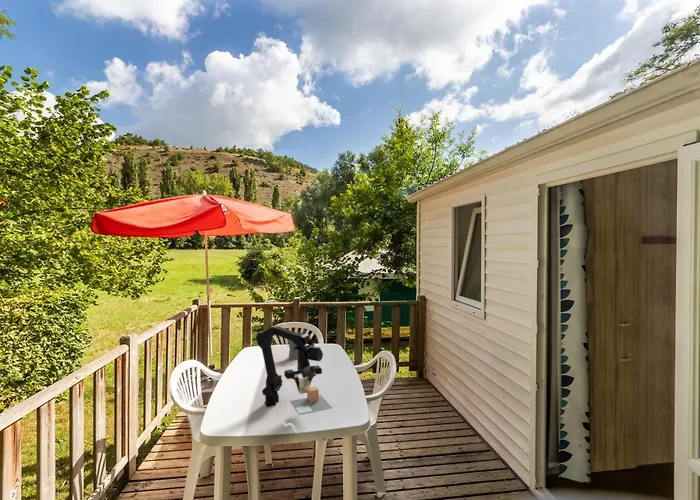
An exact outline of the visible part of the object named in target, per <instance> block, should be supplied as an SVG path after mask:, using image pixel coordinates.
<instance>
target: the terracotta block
mask: <svg viewBox="0 0 700 500" xmlns="http://www.w3.org/2000/svg"><path fill="white" fill-rule="evenodd" d="M319 393H320V391H319V388H318V387H317V386H316V385H314V386H310V392H308V393H306V398H307V399H308V400H309V401H310V402H313V401H318V400H319V395H320V394H319Z"/></svg>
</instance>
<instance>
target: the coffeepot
mask: <svg viewBox="0 0 700 500" xmlns="http://www.w3.org/2000/svg"><path fill="white" fill-rule="evenodd" d="M286 340H287V341H288V347H289V351H288V358H289V359H288V360H290V359H298V351H297V350H294V348H295V347H296V346H297V345H295V344H294V343H293V342H292V341H291V340H288V339H286Z"/></svg>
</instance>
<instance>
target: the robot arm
mask: <svg viewBox="0 0 700 500" xmlns="http://www.w3.org/2000/svg"><path fill="white" fill-rule="evenodd" d="M274 336H277V337H280V338H283V339H285V340H287V339H288V340H291V341H292V342H293V343H294V344H295V345H297V346H296V347H295V348H294V350H297V351H298V359H297V360H296V362H297V367H296V368H297V370H295V371H294V369H286V370H284V377H285V379H287V380H290V379H291V380H294V382H295V386H296V388H297V391H298V390H299V379H300V378H299V376H298V375H301V376H302V377H301V378H306V377H307V378H308V380H309V381H310V385H311V383H312V380H313V379H314V377H316V376H317V375H321V374H322V373H323V369H322V367H320V366H319V365H318V364H317V365H310V361H315V362H321V361H322V359H323V356H324V353H323V350H322V349H321V346H315V344H314V341H312V339H311V337H310V335H309V334H308V333H306V332H297V331H296V332H295V331H293V330H289V329H287V328H284V327H281V326H279V325H277V324H276V325H272V326H270V327H269V328H268V329H266V330H264V331H261V332H259V333H257V335H256V336H255V340H256V343H257V345H258V346H259V348H260V349H261V351H262V356H263V361H264V366H265V371H266V380H265V387H264V388H263V389H262V391H261V392H262V395H263V396H264V405H265V407H266V408H269V407H274V406H277V405H276V404H277V403H279V402H280V401H279V400H280V398H279V397H280V395H279V394H278V392H279V391H280V390H281V387H282V386H283V380H282V379H283V378H282V375H281V374H278V372H277V370H276V366H275V359H274V355H273V354H274V353H273V350H272V345H273V344H272V343H273V337H274ZM288 340H287V341H288Z"/></svg>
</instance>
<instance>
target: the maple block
mask: <svg viewBox="0 0 700 500" xmlns="http://www.w3.org/2000/svg"><path fill="white" fill-rule="evenodd" d="M310 387H311V384H310V381H309V380H308V377H306V378H303V377H301V378H299V390H298V389H297V391H298V393H299V395H302V394H307V393H308V392H310Z"/></svg>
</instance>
